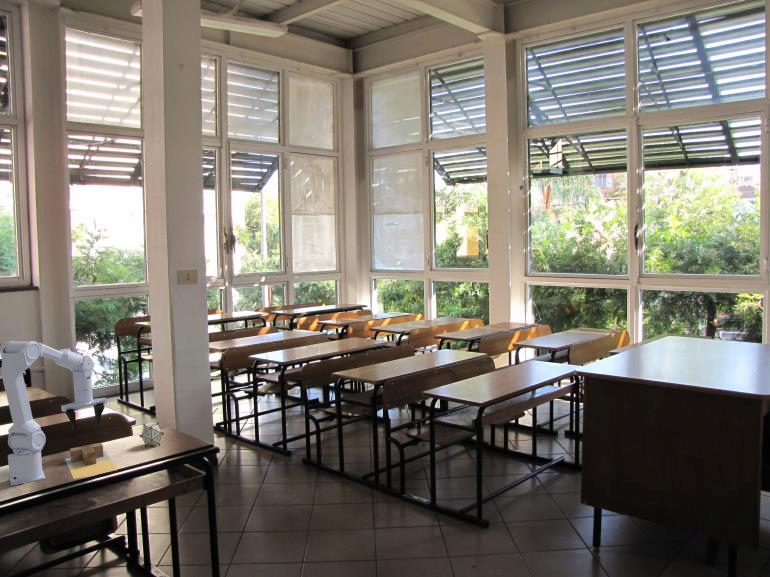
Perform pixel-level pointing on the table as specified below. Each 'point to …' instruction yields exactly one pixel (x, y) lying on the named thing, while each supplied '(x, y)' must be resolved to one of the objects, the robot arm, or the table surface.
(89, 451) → the T block
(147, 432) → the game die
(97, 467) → the mat
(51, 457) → the table surface
